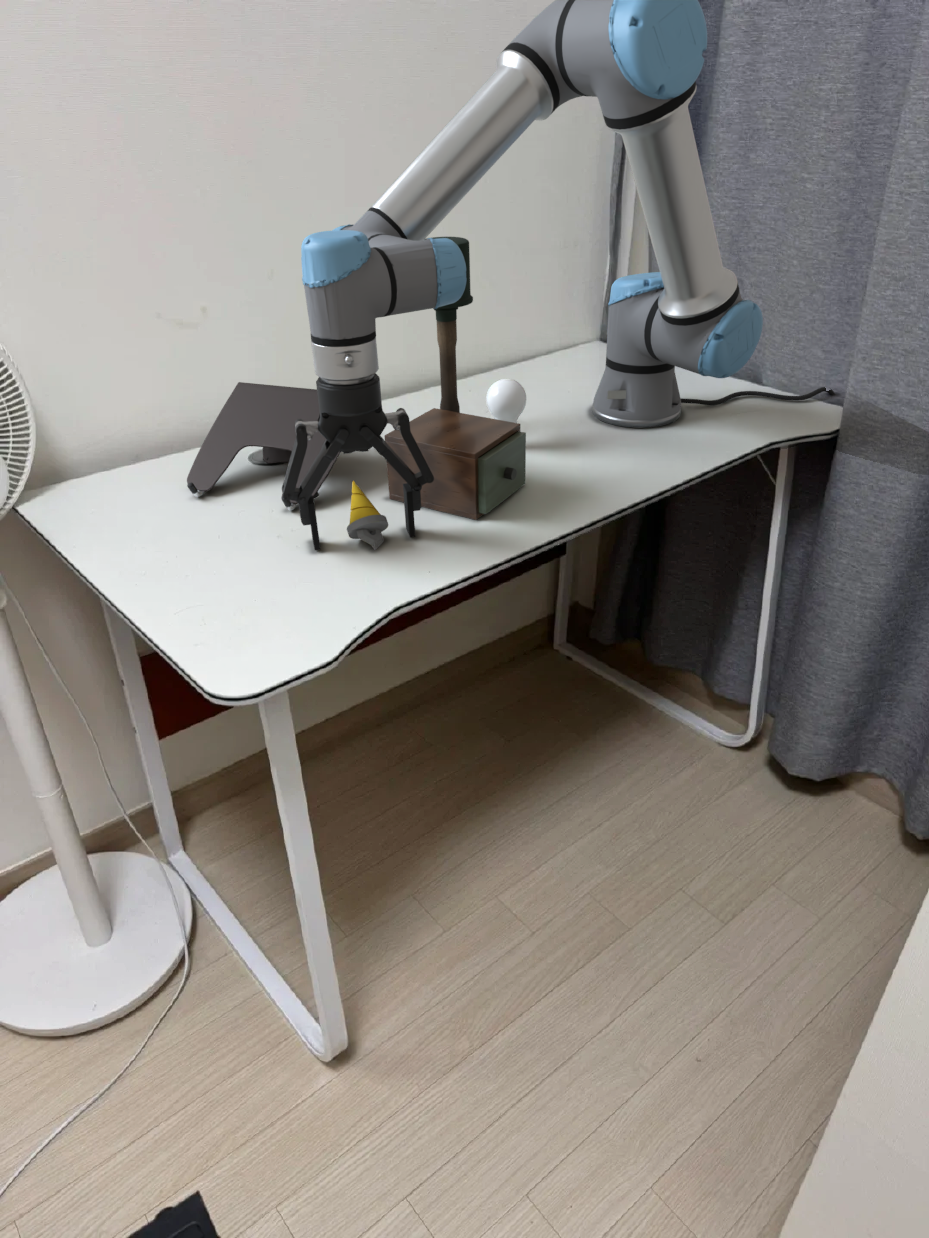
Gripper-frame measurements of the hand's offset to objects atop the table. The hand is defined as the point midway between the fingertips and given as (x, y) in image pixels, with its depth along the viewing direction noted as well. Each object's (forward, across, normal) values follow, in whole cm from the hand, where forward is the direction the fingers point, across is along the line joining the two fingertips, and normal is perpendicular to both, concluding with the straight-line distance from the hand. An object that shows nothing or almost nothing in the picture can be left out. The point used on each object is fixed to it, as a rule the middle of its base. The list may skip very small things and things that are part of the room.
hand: (364, 539), depth 113 cm
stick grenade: (0, +20, +36) cm, 41 cm away
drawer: (-1, +17, +9) cm, 19 cm away
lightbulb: (0, +27, +26) cm, 37 cm away
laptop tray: (0, -10, +24) cm, 26 cm away
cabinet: (0, +15, +11) cm, 19 cm away
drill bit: (0, 0, 0) cm, 0 cm away
